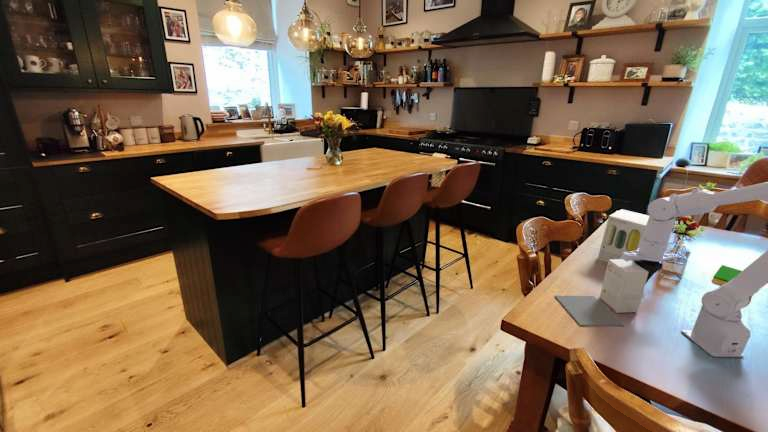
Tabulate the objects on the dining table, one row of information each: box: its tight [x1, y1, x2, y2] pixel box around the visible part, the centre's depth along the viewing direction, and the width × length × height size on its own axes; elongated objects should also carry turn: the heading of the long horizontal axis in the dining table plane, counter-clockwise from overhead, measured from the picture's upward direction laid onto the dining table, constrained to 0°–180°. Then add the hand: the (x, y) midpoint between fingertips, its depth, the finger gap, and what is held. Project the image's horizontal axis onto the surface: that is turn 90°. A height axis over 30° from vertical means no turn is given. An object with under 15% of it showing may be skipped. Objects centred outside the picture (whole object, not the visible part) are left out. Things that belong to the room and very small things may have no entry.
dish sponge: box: [711, 265, 743, 285], centre depth 122 cm, size 7×14×2 cm, turn 129°
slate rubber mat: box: [554, 295, 625, 327], centre depth 102 cm, size 14×12×1 cm
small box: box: [599, 259, 649, 314], centre depth 103 cm, size 8×6×13 cm
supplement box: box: [597, 208, 650, 263], centre depth 130 cm, size 13×13×18 cm
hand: (641, 282), depth 103 cm, fingers closed
